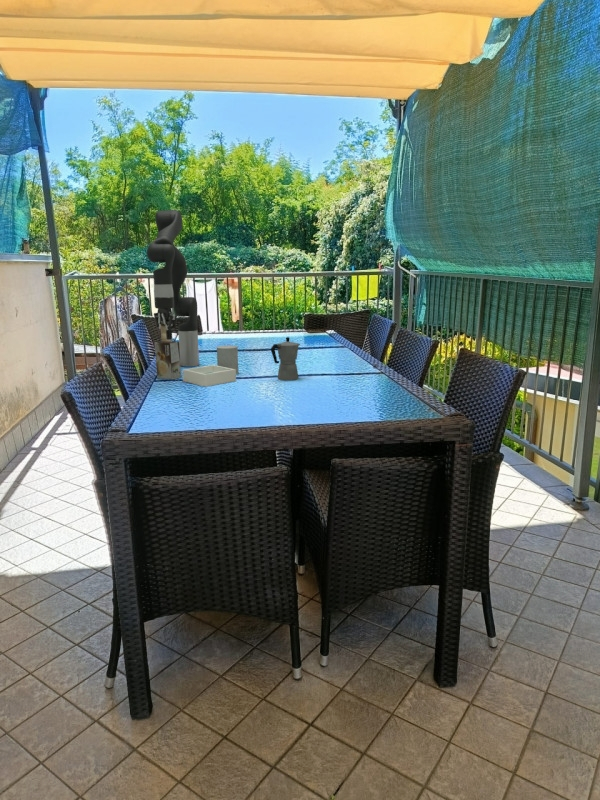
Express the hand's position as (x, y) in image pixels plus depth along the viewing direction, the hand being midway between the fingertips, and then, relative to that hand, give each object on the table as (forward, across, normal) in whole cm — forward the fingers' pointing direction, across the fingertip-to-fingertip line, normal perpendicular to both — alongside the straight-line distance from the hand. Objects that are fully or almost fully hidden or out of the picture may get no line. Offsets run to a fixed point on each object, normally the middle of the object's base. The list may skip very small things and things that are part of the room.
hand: (166, 338), depth 223 cm
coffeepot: (+19, +26, +42) cm, 53 cm away
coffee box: (+19, -13, +8) cm, 25 cm away
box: (+19, +6, +16) cm, 26 cm away
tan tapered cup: (+1, 0, 0) cm, 1 cm away
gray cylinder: (+19, -2, +32) cm, 37 cm away
